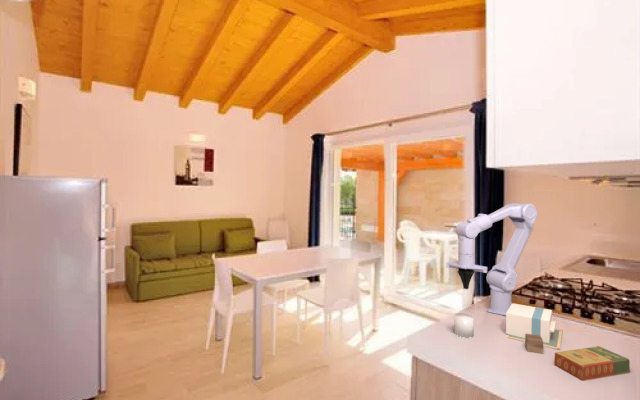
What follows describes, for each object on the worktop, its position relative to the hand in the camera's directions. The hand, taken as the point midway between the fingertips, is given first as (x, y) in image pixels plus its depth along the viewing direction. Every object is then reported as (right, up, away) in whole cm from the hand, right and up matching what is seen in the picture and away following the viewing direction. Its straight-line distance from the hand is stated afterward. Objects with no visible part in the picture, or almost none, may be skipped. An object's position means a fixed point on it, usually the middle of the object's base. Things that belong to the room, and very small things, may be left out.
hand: (466, 288), depth 131 cm
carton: (+18, -12, -39) cm, 44 cm away
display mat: (+16, -11, -17) cm, 26 cm away
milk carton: (+10, -7, -12) cm, 17 cm away
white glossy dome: (-8, -11, -16) cm, 21 cm away
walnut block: (+9, -12, -28) cm, 31 cm away
